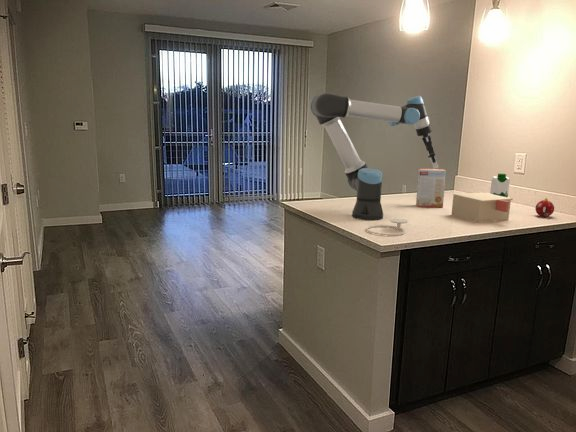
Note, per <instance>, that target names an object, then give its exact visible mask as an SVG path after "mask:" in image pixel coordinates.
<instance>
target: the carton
mask: <svg viewBox="0 0 576 432" xmlns="http://www.w3.org/2000/svg"><path fill="white" fill-rule="evenodd" d="M507 201H508V202H509V206H508V212H502V211H498V210H495V209H496V201H493V202H479V201H474V200H470V199H466V198H462V197H457V196H453V197H452V204H451V206H452V207H451V216H453V217H458V218H461V219H463V220H467V221H471V222H475V223H478V224H479V223H487V222H499V221H509V218H510V209H511V201H512V200H507Z"/></svg>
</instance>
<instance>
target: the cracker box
mask: <svg viewBox="0 0 576 432" xmlns="http://www.w3.org/2000/svg"><path fill="white" fill-rule="evenodd" d="M417 171H418V173H417V185H416V196H415V198H416V199H415V206H417V207H418V208H441V209H442V208H444V198H445V188H446V187H445V186H446V175H447V173H446V172H447V170H445V169H441V168H435V169H433V168H418V170H417Z"/></svg>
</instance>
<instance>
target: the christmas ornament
mask: <svg viewBox="0 0 576 432" xmlns="http://www.w3.org/2000/svg"><path fill="white" fill-rule="evenodd" d="M554 212H555V205H554V203H553V202H552V201H550V200H548V197H545V198H544V200H540V201H538V202H537V204H536V205H535V213H536V214H537V215H538V216H539V217H542V218H543V217H544V218H546V217H549V216H551V215H552V214H553V213H554Z"/></svg>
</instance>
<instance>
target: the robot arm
mask: <svg viewBox="0 0 576 432" xmlns="http://www.w3.org/2000/svg"><path fill="white" fill-rule="evenodd" d="M309 105H310V106H309V107H310V111H311V113H312V115H313V116H314V117H316V119H317V121H318V123H319V125H320V126H322V127H324V128H325V130H326V132H327V135H328V137H329V138H330V140H331V142H332V144H333V146H334V148H335V151H336V152H337V154H338V155H339V157H340V160H341V162H342V163H343V166H344V168H345V169H344V174H345V177H346V178H347V183H348V185H349V187H351V189H353V190H355V191H356V200H355V204H354V206H353V209H352V213H351V217H352V216H353V217H352V218H354V217H355V219H357V218H358V219H359V220H363V219H364V220H365V221H379V220H382V219H384V210H383V208H382V203H381V199H382V186H383V185H382V184H383V172H382V171H381V170H379V169H377V168H376V169H375V168H372V167H371V168H370V167H369V166H368V165H367V163H366V161H365V160H362V159H361V158H360V155H359V154H358V152H357V149H356V148H355V146H354V144H353V142H352V140H351V138H350V136H349V134H348V132H347V130H346V128H345V126H344V124H343V122H342V120H341V118H343V119H345V118H347V117H352V118H358V119H360V118H361V119H366V120H367V119H368V120H374V121H375V120H376V121H381V122H382V121H383V122H388V124H389V125H390V126H391V127H395V126H398V125H400V124H401V125H402V124H404V125H410V126H411V125H414V126H413V127H414V129H415V132H416V135H417V136H418V137H422V141H423V144H424V146H425V149H426V151H427V152H426V153H427V155H428V158H429V161H430V163H431V166H432V169H440V166H439V163H438V161H437V157H436V153H435V151H434V148H433V142H432V137H431V136H430V135H429V134H430V133H432V132H433V129H432V125H431V124H430V117H429V116H428V113H427V109H426V106H425V103H424V99H423V97H422V96H421V95H417V96H413V97H410V98H407V100H406V104H405V105H403V106H398V105H390V104H385V103H384V104H383V103H377V102H369V101H365V100H364V101H363V100H362V101H361V100H356V99H350V97H348V96H343V95H339V94H336V93H332V92H320V93H318V94H316V95H315V96H313V98H312V99H311V101H310V104H309Z"/></svg>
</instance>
